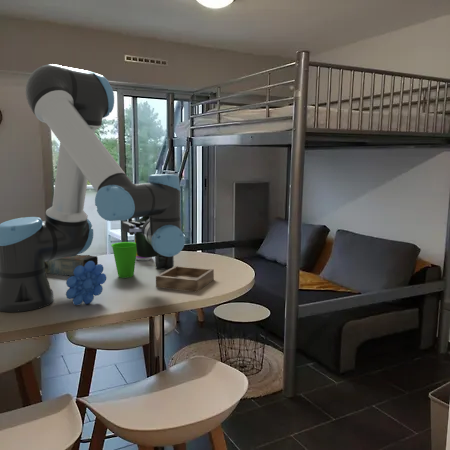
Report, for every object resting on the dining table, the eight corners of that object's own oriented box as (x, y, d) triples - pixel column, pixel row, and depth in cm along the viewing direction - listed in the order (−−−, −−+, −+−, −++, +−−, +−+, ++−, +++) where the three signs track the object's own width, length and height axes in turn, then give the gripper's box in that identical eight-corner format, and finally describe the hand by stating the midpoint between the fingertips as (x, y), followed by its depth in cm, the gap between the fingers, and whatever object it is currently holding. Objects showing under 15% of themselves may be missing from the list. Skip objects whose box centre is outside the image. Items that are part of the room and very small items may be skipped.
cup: (133, 280, 142) (132, 247, 141) (107, 278, 144) (106, 246, 142) (143, 273, 151) (142, 242, 149) (119, 271, 153) (118, 241, 151)
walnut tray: (156, 287, 135) (155, 276, 134) (175, 275, 148) (175, 265, 147) (197, 291, 130) (196, 280, 130) (213, 279, 143) (213, 269, 143)
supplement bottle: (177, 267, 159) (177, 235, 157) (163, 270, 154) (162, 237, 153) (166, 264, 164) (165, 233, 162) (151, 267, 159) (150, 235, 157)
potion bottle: (152, 251, 138) (150, 195, 135) (166, 255, 132) (165, 197, 129) (129, 255, 133) (127, 197, 130) (143, 259, 127) (141, 198, 124)
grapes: (100, 295, 126) (98, 255, 124) (111, 301, 121) (109, 259, 119) (60, 304, 118) (58, 262, 117) (70, 311, 114) (68, 266, 112)
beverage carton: (55, 268, 159) (54, 250, 158) (99, 272, 152) (98, 254, 151) (39, 273, 151) (38, 255, 150) (85, 278, 145) (84, 259, 144)
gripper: (118, 249, 111) (111, 234, 132) (196, 243, 118) (177, 230, 139) (117, 220, 110) (110, 210, 131) (196, 216, 117) (177, 207, 138)
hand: (144, 221), depth 135 cm, fingers closed on potion bottle, 8 cm apart
